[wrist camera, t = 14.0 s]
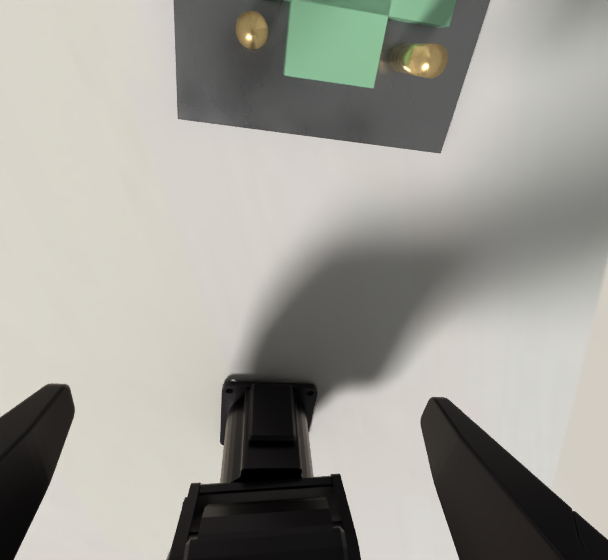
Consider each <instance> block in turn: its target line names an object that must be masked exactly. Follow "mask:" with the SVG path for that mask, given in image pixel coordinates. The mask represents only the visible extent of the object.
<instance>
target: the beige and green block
mask: <svg viewBox="0 0 608 560" xmlns="http://www.w3.org/2000/svg"><path fill="white" fill-rule="evenodd" d="M283 1H288V2H290V7H289V18H288V29H287V40H286V50H285V61H284V72H283V74H284V76H291V77H298V78H305V79H312V80H319V81H325V82H332V83H339V84H346V85H353V86H360V87H367V88H374V84H375V79H376V74H377V69H378V64H379V59H380V54H381V50H382V45H383V40H384V35H385V30H386V25H387V21H388V19H391V20H397V21H403V22H408V23H414V24H420V25H425V26H431V27H437V28H442V27H449V25H450V21H451V18H452V14H453V11H454V7H455V4H456V0H283Z"/></svg>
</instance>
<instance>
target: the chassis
mask: <svg viewBox="0 0 608 560" xmlns="http://www.w3.org/2000/svg"><path fill="white" fill-rule="evenodd" d="M489 2H490V0H456V4H455V7H454V11H453V14H452V18H451V21H450V25H449V27H442V28H437V27H431V26H425V25H420V24H414V23H408V22H403V21H397V20H391V19H388V21H387V25H386V30H385V35H384V40H383V45H382V50H381V54H380V59H379V64H378V69H377V74H376V79H375V84H374V88H367V87H360V86H353V85H346V84H339V83H332V82H325V81H319V80H312V79H305V78H298V77H291V76H284V74H283V72H284V61H285V50H286V40H287V29H288V18H289V7H290V2H288V1H283V0H174V21H175V50H176V79H177V108H178V119H182V120H190V121H197V122H205V123H212V124H220V125H228V126H235V127H243V128H251V129H258V130H266V131H274V132H281V133H289V134H296V135H304V136H312V137H319V138H327V139H335V140H342V141H350V142H357V143H365V144H373V145H380V146H388V147H396V148H403V149H411V150H419V151H426V152H434V153H441V150H442V147H443V144H444V141H445V138H446V135H447V132H448V129H449V126H450V122H451V119H452V116H453V113H454V110H455V107H456V104H457V101H458V98H459V95H460V92H461V89H462V85H463V82H464V79H465V76H466V73H467V70H468V67H469V64H470V61H471V58H472V55H473V51H474V48H475V45H476V42H477V39H478V36H479V33H480V30H481V27H482V24H483V21H484V17H485V14H486V11H487V8H488V5H489Z"/></svg>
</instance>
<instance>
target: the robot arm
mask: <svg viewBox="0 0 608 560" xmlns="http://www.w3.org/2000/svg"><path fill="white" fill-rule="evenodd" d="M316 397H317V387H316V386H315V385H314V384H300V383H267V382H234V381H229V382H225V383H224V384H223V387H222V404H221V432H220V443H221V444H222V445H224V450H223V460H222V469H221V479H220V483H215V484H201V483H191V486H190V489H189V493H188V497H185V500H184V502H183V506H182V511H181V514H180V518H179V522H178V525H177V529H176V533H175V536H174V540H173V544H172V547H171V550H170V552H169V554H168V557H167V559H166V560H361V557H360V551H359V545H358V540H357V536H356V532H355V528H354V524H353V521H352V517H351V513H350V509H349V506H348V502H347V498H346V494H345V491H344V487H343V483H342V480H341V476H340V474H331V476H322V477H313V469H312V460H311V451H310V442H309V433H308V432H309V427H310V423H311V419H312V414H313V410H314V406H315V401H316ZM74 413H75V407H74V403H73V399H72V394H71V390H70V387H69V386H68V385H67V384H47V385H45V386H44V387H42V388H41V389H40V390H38V391H37V392H35V393H34V394H33V395H31V396H30V397H28V398H27V399H25V400H24V401H23V402H21V403H20V404H18V405H17V406H16V407H14V408H13V409H11V410H10V411H9V412H7V413H6V414H4V415H3V416H1V417H0V560H14V558H15V556H16V554H17V552H18V550H19V547H20V545H21V543H22V541H23V539H24V537H25V535H26V533H27V531H28V529H29V527H30V525H31V522H32V520H33V518H34V516H35V514H36V512H37V510H38V508H39V506H40V504H41V502H42V499H43V497H44V495H45V493H46V491H47V489H48V486H49V484H50V482H51V479H52V477H53V474H54V471H55V468H56V466H57V463H58V460H59V457H60V454H61V452H62V449H63V446H64V443H65V440H66V437H67V435H68V432H69V429H70V426H71V423H72V421H73V418H74ZM421 429H422V433H423V437H424V442H425V446H426V451H427V455H428V459H429V464H430V468H431V473H432V477H433V480H434V484H435V487H436V491H437V494H438V497H439V500H440V503H441V506H442V509H443V512H444V515H445V518H446V521H447V524H448V527H449V530H450V533H451V536H452V539H453V542H454V545H455V548H456V551H457V554H458V557H459V560H608V539H606V538H605V537H604V536H603V535H602V534H600V533H599V532H598V531H597V530H596V529H595V528H594V527H592V526H591V525H590V524H589V523H588V522H587V521H586V520H584V519H583V518H582V517H581V516H580V515H579V514H578V513H577V512H575V511H572V508H571V507H570V506H568V505H567V504H566V503H565V502H564V501H563V500H562V499H561V498H559V497H558V496H557V495H556V494H555V493H554V492H553V491H551V490H550V489H549V488H548V487H547V486H546V485H545V484H544V483H542V482H541V481H540V480H539V479H538V478H537V477H536V476H535V475H533V474H532V473H531V472H530V471H529V470H528V469H527V468H525V467H524V466H523V465H522V464H521V463H520V462H519V461H518V460H516V459H515V458H514V457H513V456H512V455H511V454H510V453H508V452H507V451H506V450H505V449H504V448H503V447H502V446H501V445H499V444H498V443H497V442H496V441H495V440H494V439H493V438H492V437H490V436H489V435H488V434H487V433H486V432H485V431H484V430H482V429H481V428H480V427H479V426H478V425H477V424H476V423H475V422H473V421H472V420H471V419H470V418H469V417H468V416H467V415H465V414H464V413H463V412H462V411H461V410H460V409H459V408H458V407H456V406H455V405H454V404H453V403H452V402H451V401H450V400H448V399H447V398H444V397H432V398H430V399H429V401H428V403H427V405H426V407H425V410H424V412H423V414H422V416H421Z"/></svg>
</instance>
